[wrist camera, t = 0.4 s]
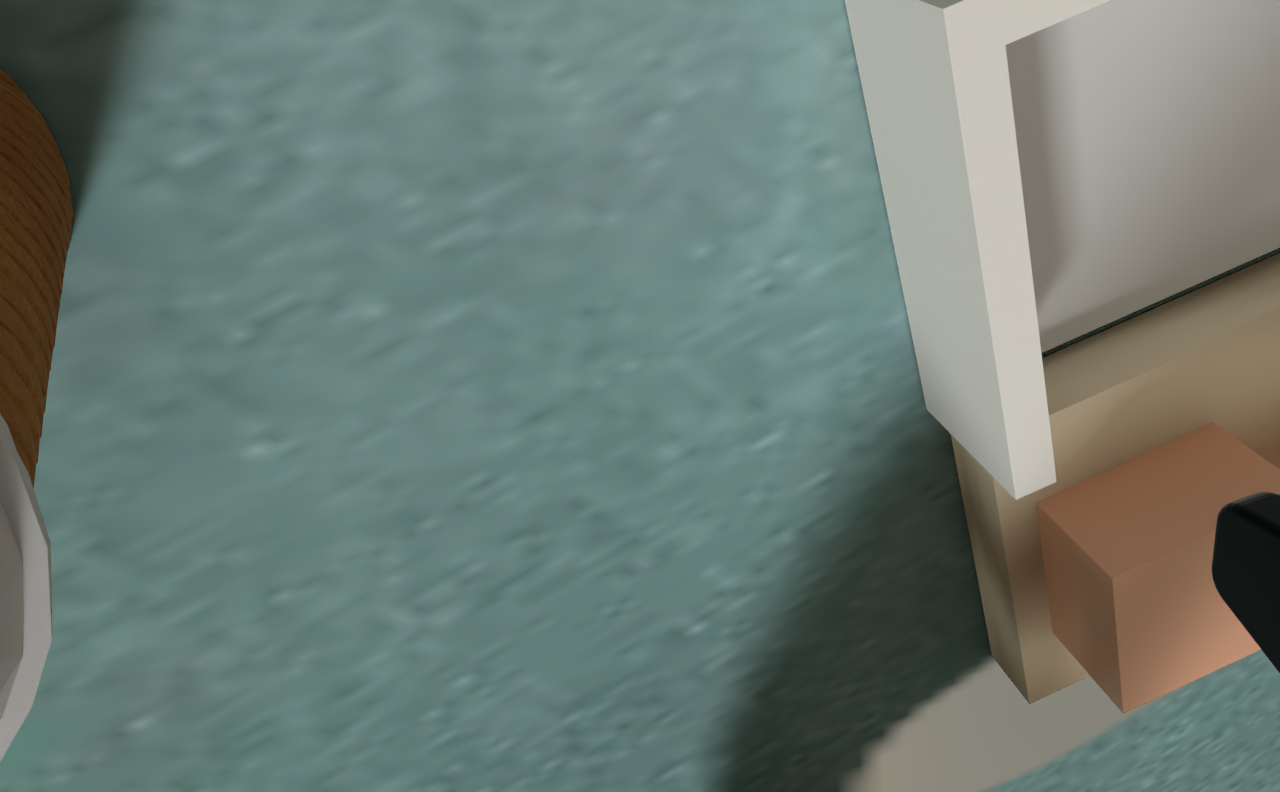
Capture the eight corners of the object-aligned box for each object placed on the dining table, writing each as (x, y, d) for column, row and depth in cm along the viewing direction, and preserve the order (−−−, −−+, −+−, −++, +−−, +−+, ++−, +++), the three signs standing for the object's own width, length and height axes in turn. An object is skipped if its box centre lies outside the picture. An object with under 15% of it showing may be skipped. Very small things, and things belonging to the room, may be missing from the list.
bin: (1480, 163, 27) (1644, 216, 24) (926, 409, 26) (1015, 499, 23) (1555, -326, 21) (1788, -347, 18) (839, -28, 20) (942, 9, 17)
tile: (1213, 559, 29) (1298, 631, 27) (1053, 633, 29) (1123, 713, 26) (1212, 422, 26) (1307, 488, 24) (1035, 502, 26) (1112, 578, 24)
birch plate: (1422, 457, 33) (1482, 494, 31) (992, 655, 32) (1029, 704, 30) (1463, 171, 27) (1539, 196, 26) (944, 401, 26) (987, 443, 25)
